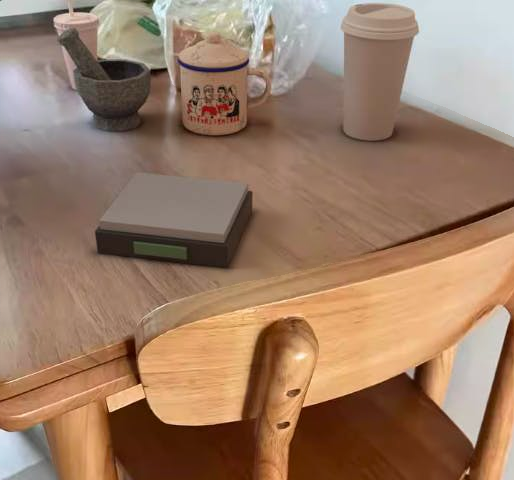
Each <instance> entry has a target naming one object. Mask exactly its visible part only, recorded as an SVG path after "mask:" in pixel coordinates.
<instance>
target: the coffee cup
mask: <svg viewBox="0 0 514 480" xmlns="http://www.w3.org/2000/svg"><path fill="white" fill-rule="evenodd" d="M340 30H342V32H343V130H342V131H343V133H345V135H346V136H348V137H349V138H353V139H357V140H360V141H368V142H369V141H370V142H374V141H382V140H386V139H389V138H390V137H391V136H392V135H393V132H394V127H395V123H396V119H397V114H398V109H399V105H400V102H401V101H400V100H401V96H402V91H403V87H404V83H405V78H406V73H407V70H408V65H409V60H410V55H411V52H412V48H413V44H414V39H415V36H417V35H419V33H420V29H419V23H418V20H417V19H416V13H415V11H414V10H413V9H412V8H409V7H408V6H404V5H400V4H394V3H385V2H365V3H364V2H363V3H357V4H354V5H352V6H350V7H349V8H348V11H347V14H346V15H345V16H344V17H343V18H342V20H341V24H340Z"/></svg>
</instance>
